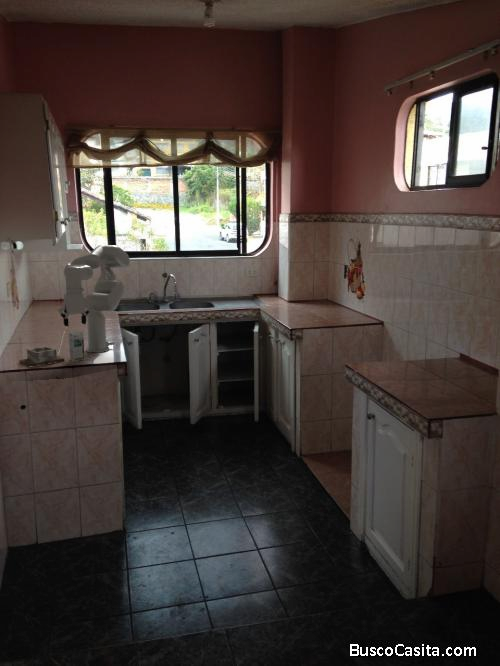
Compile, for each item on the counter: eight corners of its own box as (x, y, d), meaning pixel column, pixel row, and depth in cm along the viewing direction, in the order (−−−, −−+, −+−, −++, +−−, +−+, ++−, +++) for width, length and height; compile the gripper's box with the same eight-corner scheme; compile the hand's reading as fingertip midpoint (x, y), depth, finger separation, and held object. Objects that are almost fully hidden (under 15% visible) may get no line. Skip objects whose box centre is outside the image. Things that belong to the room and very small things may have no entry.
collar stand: (53, 357, 310) (52, 344, 309) (64, 361, 302) (63, 348, 301) (19, 362, 298) (18, 350, 296) (30, 367, 290) (29, 354, 288)
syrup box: (73, 362, 301) (72, 333, 298) (69, 359, 306) (68, 331, 303) (84, 360, 304) (83, 332, 301) (80, 358, 309) (79, 330, 306)
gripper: (85, 289, 306) (86, 322, 309) (54, 291, 294) (55, 325, 297) (93, 290, 301) (94, 324, 304) (61, 293, 289) (63, 327, 292)
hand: (75, 324), depth 301 cm, fingers open, 9 cm apart
